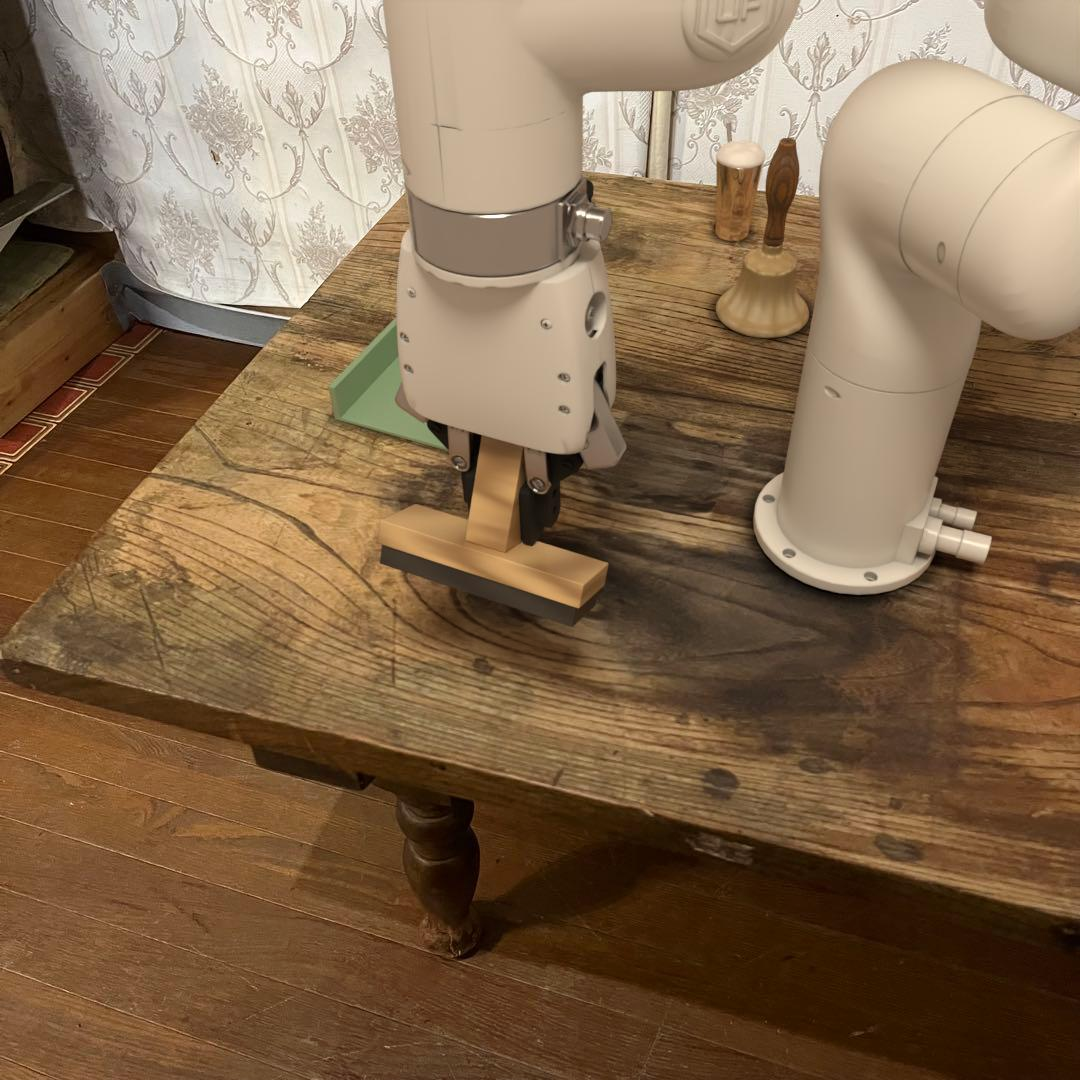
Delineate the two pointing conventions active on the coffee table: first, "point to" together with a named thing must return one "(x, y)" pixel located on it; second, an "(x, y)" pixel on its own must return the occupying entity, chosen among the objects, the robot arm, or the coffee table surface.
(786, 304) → the hand bell
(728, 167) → the milkshake
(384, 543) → the brush
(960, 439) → the coffee table surface
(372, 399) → the dustpan
